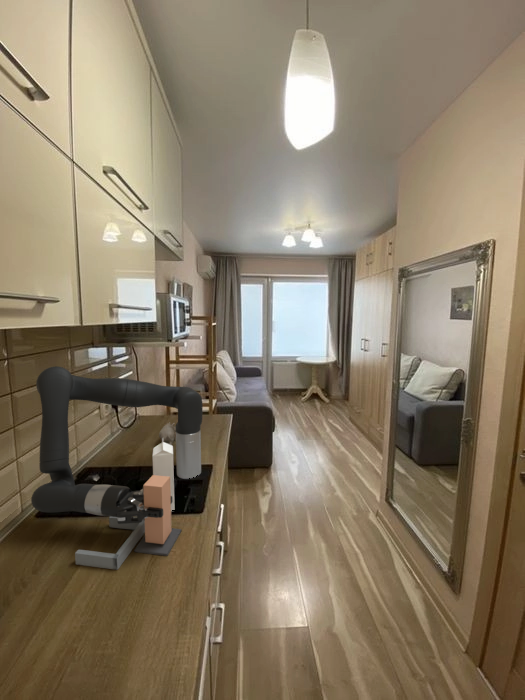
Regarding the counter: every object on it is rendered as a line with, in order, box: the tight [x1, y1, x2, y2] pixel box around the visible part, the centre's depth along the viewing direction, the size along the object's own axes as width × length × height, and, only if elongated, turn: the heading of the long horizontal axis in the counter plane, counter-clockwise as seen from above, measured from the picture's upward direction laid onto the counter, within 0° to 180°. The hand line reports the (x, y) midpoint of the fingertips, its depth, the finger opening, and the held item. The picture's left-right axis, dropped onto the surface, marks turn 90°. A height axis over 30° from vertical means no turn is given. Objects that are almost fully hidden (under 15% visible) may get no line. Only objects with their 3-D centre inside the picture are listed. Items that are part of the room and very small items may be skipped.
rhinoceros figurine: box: [158, 421, 176, 445], centre depth 142 cm, size 8×14×15 cm
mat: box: [133, 527, 182, 557], centre depth 83 cm, size 9×9×1 cm
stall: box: [74, 516, 145, 571], centre depth 81 cm, size 14×11×3 cm
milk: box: [152, 441, 176, 512], centre depth 96 cm, size 6×6×22 cm
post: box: [142, 474, 172, 544], centre depth 81 cm, size 5×5×16 cm
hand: (167, 506), depth 81 cm, fingers closed on post, 5 cm apart
